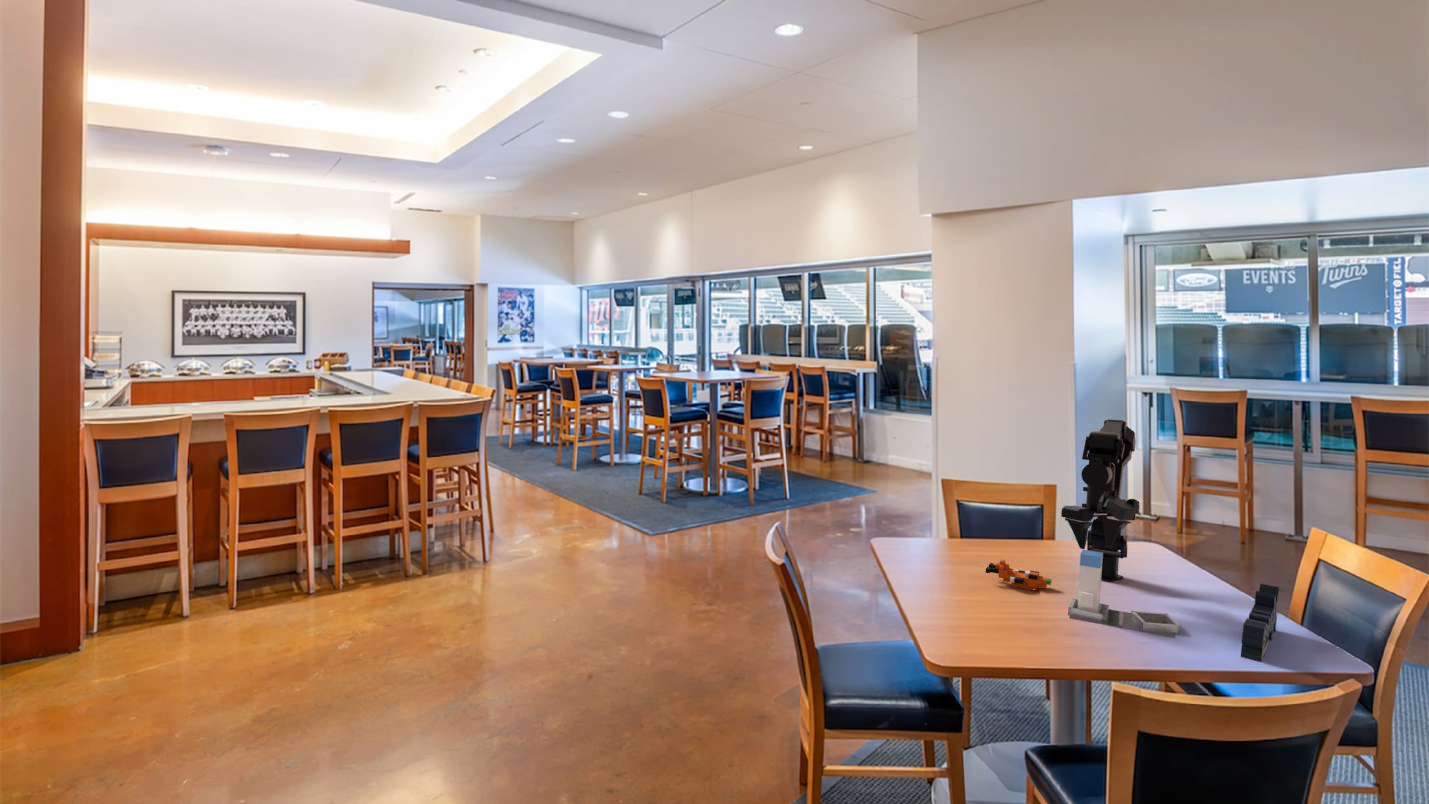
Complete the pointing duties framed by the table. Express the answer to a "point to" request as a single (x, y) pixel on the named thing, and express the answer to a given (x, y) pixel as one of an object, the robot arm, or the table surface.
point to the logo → (1260, 623)
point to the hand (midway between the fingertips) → (1095, 548)
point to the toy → (1018, 576)
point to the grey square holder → (1088, 612)
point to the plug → (1090, 580)
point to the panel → (1123, 622)
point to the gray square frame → (1157, 627)
